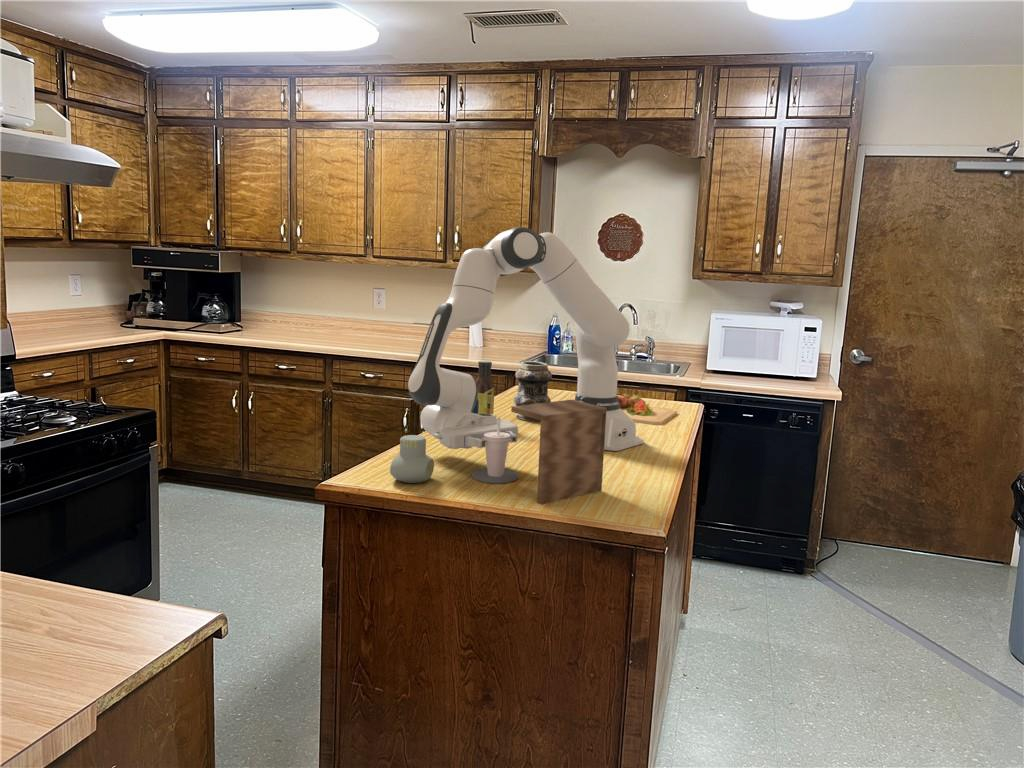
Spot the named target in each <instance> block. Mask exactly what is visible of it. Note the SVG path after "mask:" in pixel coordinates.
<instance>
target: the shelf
mask: <svg viewBox="0 0 1024 768" xmlns="http://www.w3.org/2000/svg"><path fill="white" fill-rule="evenodd" d="M510 408H511V411H510V412H511V413H514V414H517V415H518V414H521V415H524V416H527V417H531V418H534V419H538V420H541V421H540V425H539V426H540V429H539V450H538V451H539V452H538V469H537V470H538V471H537V472H538V474H537V494H536V503H537V504H538V505H543V504H547V503H552V502H557V501H560V500H561V501H562V500H565V499H570V498H575V497H580V496H584V495H589V494H594V493H598V492H602V489H603V487H602V486H603V474H604V473H603V471H604V469H603V468H604V457H605V455H604V454H605V450H604V442H605V426H606V410H607V408H605V407H601V406H597V405H593V404H589V403H585V402H580V401H576V400H575V399H567V400H557V401H551V402H546V403H537V404H528V405H520V406H516V405H512V406H511V407H510Z"/></svg>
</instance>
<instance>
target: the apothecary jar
mask: <svg viewBox="0 0 1024 768" xmlns="http://www.w3.org/2000/svg"><path fill="white" fill-rule="evenodd" d="M514 374H515V378H516V379H517V380H518V388H517V393H516V394H515V395H514V397H513V403H514V406H520V405H528V404H537V403H546V402H552V400H551V397H550V396H549V395H548V394H549V393H548V392H549V391H548V390H549V389H548V388H549V382H551V380H552V379H553V374H552V372H551V371H550V370H549V368H548V364H547V362H541V361H530V360H528V361H521V363H520V367H519V368H518V369H517V370H516V371H515V373H514ZM515 418H516V419H519V420H521V421H528V422H529V421H530V422H539V421H540V422H541V420H538V419H534V418H531V417H527V416H524V415H521V414H517V415H516V416H515Z"/></svg>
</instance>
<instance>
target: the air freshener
mask: <svg viewBox="0 0 1024 768" xmlns="http://www.w3.org/2000/svg"><path fill="white" fill-rule="evenodd" d="M399 443H400V444H399V454H397V455H395V456H394V457H393V459H392V461H391V464H390V469H389V472H390V476H392V477H393V478H394V479H396V480H397V481H399V482H402V483H407V484H416V483H417V484H419V482H421V483H425V482H426V481H428V480H429V479H431V477H432V476H433V472H434V469H435V461H434V459H433V458H432V457H431V456H429V455H428V454H427V453H426V451H427V439H426V437H425V436H424V435H423V436H422V435H417V434H410V435H409V434H407V435H406V434H405V435H404V436H401V437H400V439H399Z"/></svg>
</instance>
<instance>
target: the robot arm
mask: <svg viewBox="0 0 1024 768" xmlns="http://www.w3.org/2000/svg"><path fill="white" fill-rule="evenodd" d="M528 268H529V269H531V270H532V271H534V273H536V274H537V276H538V278H539V279H540V280H541V281H542V283H543V284H544V286H545V287H546V288H547V290H548V291H549V292H550V294H551V295H552V296H553V298H554V299H555V301H557V303H558V305H559V306H561V308H562V309H563V310H564V311H565V312H566V313H567V314H568V315H569V317H570V318H572V319H573V327H574V331H575V342H576V353H577V354H576V355H577V385H576V393H575V396H574V400H576V401H580V402H585V403H589V404H593V405H597V406H601V407H605V408H607V410H606V426H605V442H604V451H613V452H619V451H623V450H625V449H629V448H632V447H635V446H639V445H642V444H644V443H645V440H644V439H643V438H642V437H640V436H637V426H636V422H634V421H633V420H632V419H631V418H630V417H629V416H628V415H627V414H626V413H624V412H623V411H622V410H621V409H620V403H622V404H626V403H625V402H627V400H626V399H627V398H626V397H622V395H617V392H618V378H619V377H618V376H619V375H618V374H619V368H618V364H617V359H616V353H615V352H616V351H615V348H617V347H619V346H622V344H624V343H625V342H626V341H627V339H628V337H629V335H630V331H631V330H630V323H629V321H628V319H627V318H626V316H625V315H624V314H623V313H622V312H621V311H620V309H618V307H617V306H616V305H615V303H613V302H612V301H611V299H610V298H609V297H608V296H607V294H606V293H604V291H603V290H602V289H601V288H600V287H599V286H598V285H597V284H596V282H595V281H594V280H593V279H592V278H591V276H590V275H589V274H588V272H587V270H585V268H584V267H583V265H582V264H581V263H580V261H579V260H578V259H577V257H576V255H575V254H574V253H573V252H572V251H571V249H570V248H569V247H568V246H567V245H566V244H565V242H564V241H562V240H561V238H560V237H558V236H557V235H556V234H554V233H553V232H550V231H549V232H548V231H547V232H546V231H545V232H541V233H537V232H535V231H534V230H532V229H530V228H528V227H524V226H516V227H513V228H510V229H508V230H504V231H502V232H499V233H498V234H497V235H496V236H495V237H492V238H491V239H489V240H488V241H487V242H486V243H485V244H484V246H483V247H482V248H480V247H474V248H469V249H467V250H465V251H464V252H463V253H462V255H461V256H460V259H459V262H458V265H457V268H456V270H455V274H454V278H453V282H452V287H451V292H450V294H449V296H448V298H447V300H446V301H445V302H443V303H442V304H440V305H439V306H438V307H437V308H436V310H435V311H434V314H433V317H432V319H431V322H430V324H429V327H428V329H427V332H426V336H425V338H424V341H423V343H422V346H421V350H420V353H419V355H418V358H417V361H416V363H415V365H414V367H413V369H412V371H411V372H410V374H409V377H408V381H407V391H408V393H409V395H410V397H411V398H412V400H413V401H414V402H415V403H416V404H418V405H423V406H424V407H423V409H422V410H421V412H420V424H421V425H422V428H423V429H424V431H425V432H426V433H428V434H429V435H430V436H432V437H433V438H434V439H437V440H439V443H440V444H441V445H442V446H443V447H445V448H447V449H452V450H457V449H472V448H478V449H480V448H481V449H482V448H485V439H484V438H483V437H484V434H485V433H487V432H497V423H498V417H497V415H496V414H494V413H493V414H476V413H472V411H473V409H474V407H475V405H476V402H477V397H478V388H477V384H476V379H475V378H474V376H473V375H471V374H469V373H465V372H461V371H457V370H451V369H447V368H444V367H440V362H441V359H442V356H443V355H444V354H443V353H444V350H445V348H446V344H447V341H448V339H449V337H450V334H451V333H452V332H454V330H455V331H456V330H457V329H459V328H464V327H468V326H474V325H478V324H479V323H482V322H483V321H484V320H485V319H486V318H488V316H490V313H491V311H492V310H493V309H492V308H493V304H494V300H495V294H496V286H497V282H498V280H499V278H500V277H505V276H508V275H512V274H516V273H519V272H521V271H523V270H524V269H528ZM618 396H620V397H618ZM518 427H519V426H518V425H517V424H515V423H514V422H511V421H509V420H506V419H503V418H500V432H504V433H508V434H510V440H509V443H510V444H513V443H517V442H518V436H519V428H518Z"/></svg>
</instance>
